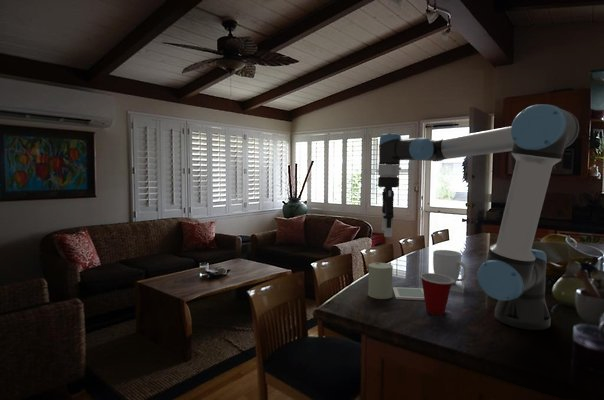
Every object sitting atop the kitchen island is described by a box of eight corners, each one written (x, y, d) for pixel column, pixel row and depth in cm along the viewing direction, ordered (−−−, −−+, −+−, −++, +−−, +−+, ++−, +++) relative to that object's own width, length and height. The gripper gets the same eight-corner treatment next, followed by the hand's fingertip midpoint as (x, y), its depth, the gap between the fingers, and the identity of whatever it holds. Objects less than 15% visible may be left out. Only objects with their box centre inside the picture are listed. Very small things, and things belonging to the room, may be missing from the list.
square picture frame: (429, 300, 135) (429, 298, 135) (396, 299, 137) (396, 296, 136) (423, 290, 147) (423, 288, 147) (392, 289, 148) (392, 286, 148)
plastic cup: (455, 319, 117) (456, 282, 116) (419, 316, 120) (420, 279, 119) (451, 307, 128) (452, 273, 127) (419, 304, 131) (419, 271, 130)
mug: (474, 286, 152) (475, 254, 151) (458, 291, 146) (459, 258, 145) (443, 277, 164) (443, 248, 163) (427, 281, 158) (427, 251, 157)
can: (386, 290, 147) (387, 260, 146) (396, 298, 138) (397, 266, 137) (364, 291, 145) (364, 261, 144) (373, 299, 136) (373, 267, 135)
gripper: (403, 177, 123) (400, 240, 125) (395, 175, 148) (393, 228, 150) (380, 177, 124) (378, 239, 126) (376, 175, 149) (374, 227, 151)
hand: (386, 233), depth 138 cm, fingers open, 13 cm apart
